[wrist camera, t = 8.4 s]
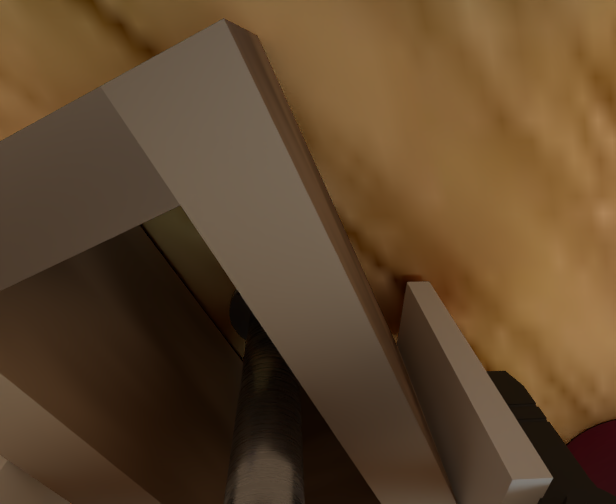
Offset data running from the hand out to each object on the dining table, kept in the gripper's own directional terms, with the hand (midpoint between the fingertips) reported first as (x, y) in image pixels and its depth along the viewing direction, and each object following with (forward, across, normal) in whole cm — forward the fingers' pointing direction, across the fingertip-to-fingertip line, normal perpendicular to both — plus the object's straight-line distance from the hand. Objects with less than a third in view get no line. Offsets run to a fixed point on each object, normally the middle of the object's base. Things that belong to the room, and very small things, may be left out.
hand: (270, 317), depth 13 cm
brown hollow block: (0, -1, +1) cm, 2 cm away
